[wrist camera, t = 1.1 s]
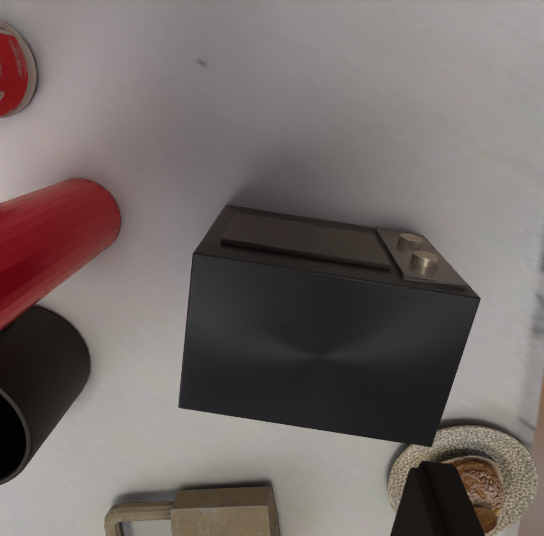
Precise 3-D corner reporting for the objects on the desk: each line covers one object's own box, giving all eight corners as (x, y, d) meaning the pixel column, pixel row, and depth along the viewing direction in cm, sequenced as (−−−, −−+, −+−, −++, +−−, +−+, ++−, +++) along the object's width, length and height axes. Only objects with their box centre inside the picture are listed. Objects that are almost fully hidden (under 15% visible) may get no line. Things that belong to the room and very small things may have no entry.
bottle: (115, 260, 35) (-100, 451, 16) (43, 242, 35) (-262, 413, 16) (125, 189, 33) (-104, 309, 14) (48, 169, 33) (-288, 265, 14)
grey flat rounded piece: (524, 529, 41) (550, 579, 37) (385, 531, 42) (394, 580, 38) (539, 415, 37) (570, 457, 33) (385, 420, 38) (396, 461, 34)
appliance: (226, 193, 33) (194, 237, 22) (426, 225, 33) (486, 284, 22) (212, 319, 36) (177, 408, 26) (393, 347, 36) (432, 448, 26)
